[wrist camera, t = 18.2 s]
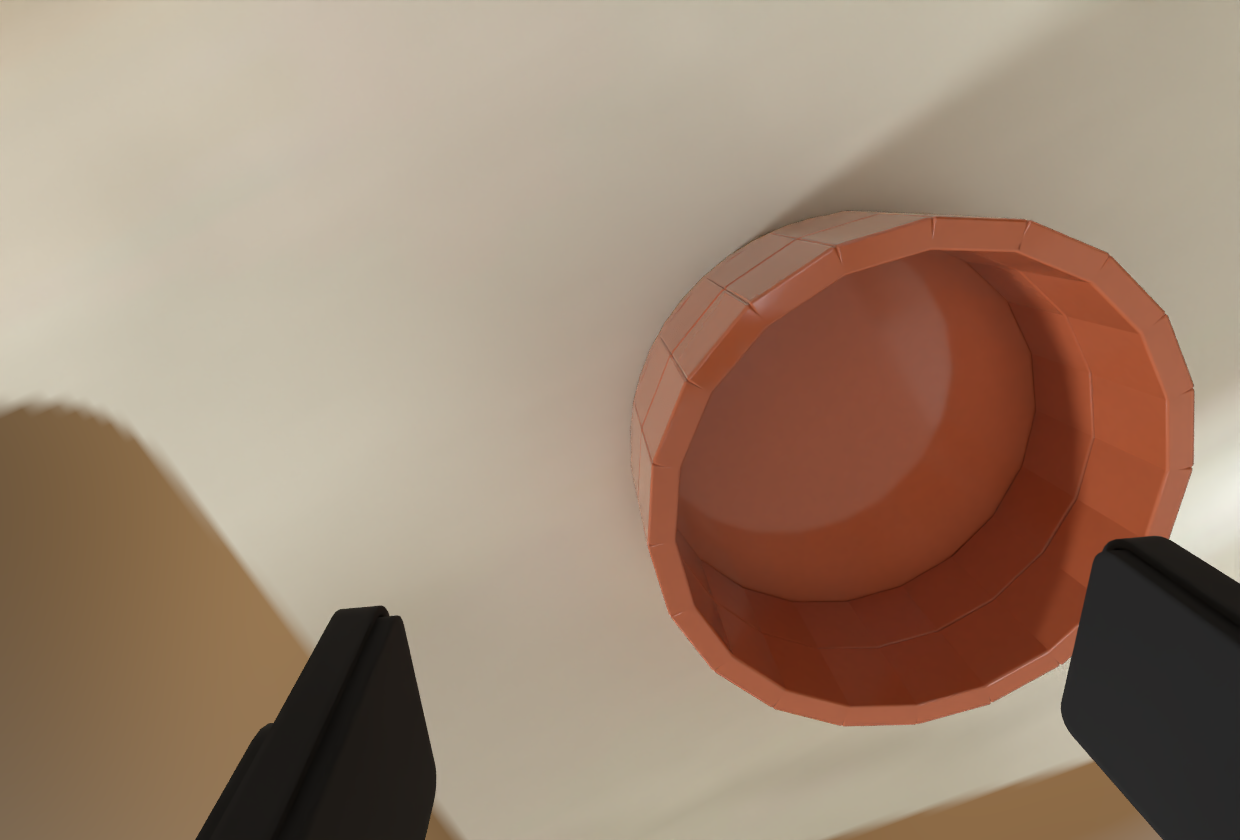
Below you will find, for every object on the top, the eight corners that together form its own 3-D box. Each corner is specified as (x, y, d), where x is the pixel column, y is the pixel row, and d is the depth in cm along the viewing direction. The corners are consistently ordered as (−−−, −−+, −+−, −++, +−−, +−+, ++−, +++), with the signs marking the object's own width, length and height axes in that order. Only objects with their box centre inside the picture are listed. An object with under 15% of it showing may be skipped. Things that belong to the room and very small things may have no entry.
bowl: (639, 203, 19) (665, 206, 13) (1089, 218, 20) (1277, 227, 14) (623, 610, 23) (637, 732, 18) (992, 605, 24) (1109, 720, 19)
